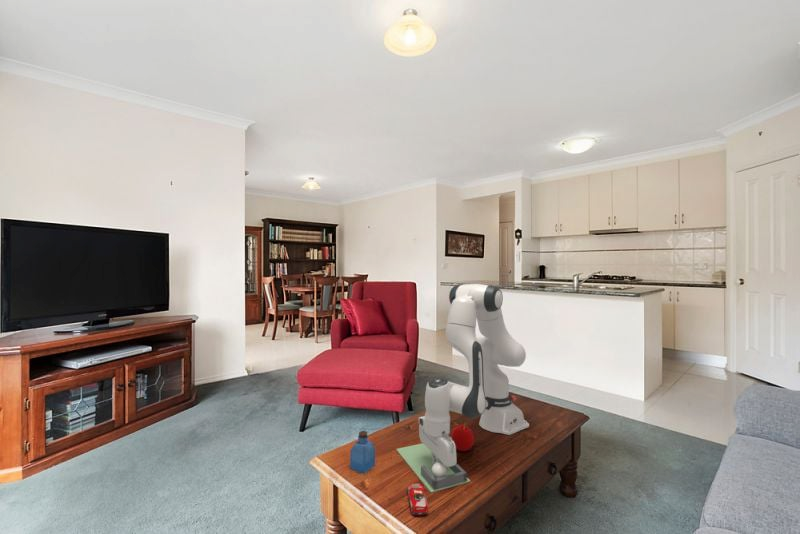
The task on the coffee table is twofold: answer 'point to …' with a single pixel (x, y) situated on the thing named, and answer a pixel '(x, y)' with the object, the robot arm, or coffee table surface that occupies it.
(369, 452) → the perfume bottle
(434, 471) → the ball
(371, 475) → the coffee table surface
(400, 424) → the coffee table surface
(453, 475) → the gray u-shaped frame
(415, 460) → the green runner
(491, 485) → the coffee table surface
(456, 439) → the fruit
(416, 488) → the race car
